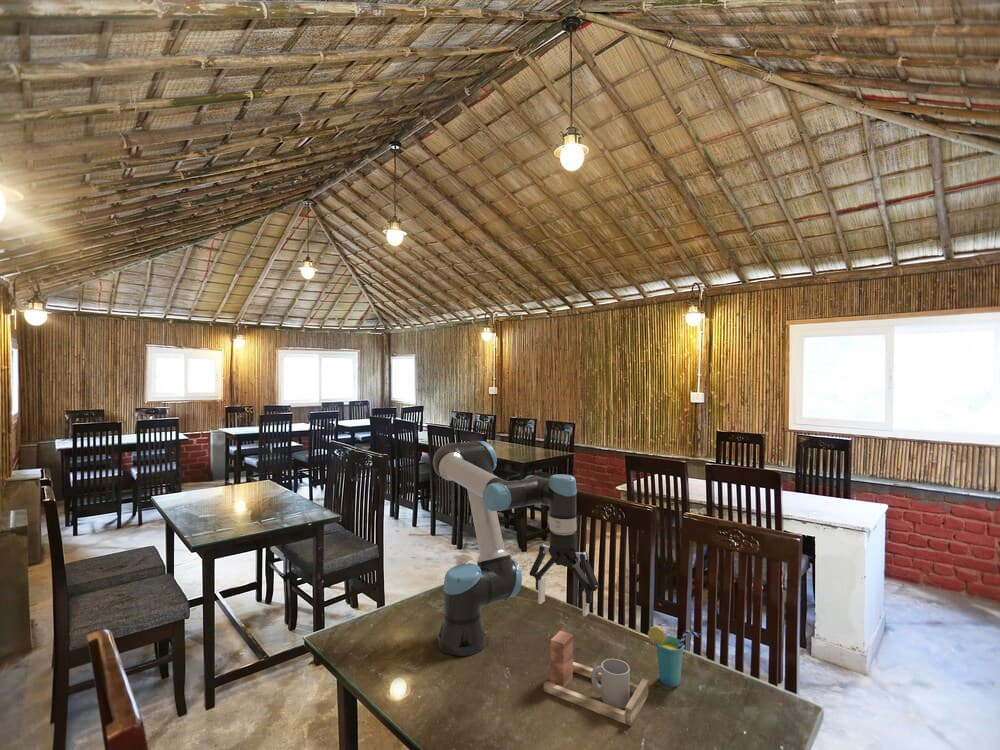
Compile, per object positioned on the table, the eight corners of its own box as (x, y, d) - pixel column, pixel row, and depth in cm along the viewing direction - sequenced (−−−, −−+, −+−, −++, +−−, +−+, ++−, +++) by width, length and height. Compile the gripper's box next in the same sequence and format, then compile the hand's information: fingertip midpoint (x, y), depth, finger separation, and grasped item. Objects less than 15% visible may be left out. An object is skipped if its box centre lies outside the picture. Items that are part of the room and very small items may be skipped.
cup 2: (699, 679, 137) (699, 625, 137) (701, 695, 130) (701, 639, 130) (647, 668, 142) (648, 617, 142) (646, 684, 135) (646, 629, 135)
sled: (543, 691, 131) (543, 646, 131) (566, 666, 143) (566, 624, 143) (631, 726, 118) (631, 676, 118) (648, 695, 130) (648, 649, 130)
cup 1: (626, 713, 123) (626, 677, 123) (587, 701, 127) (587, 667, 127) (632, 696, 129) (632, 663, 129) (595, 686, 134) (595, 653, 134)
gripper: (517, 527, 140) (517, 602, 140) (600, 542, 126) (600, 625, 126) (530, 521, 146) (530, 592, 146) (610, 535, 133) (611, 614, 132)
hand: (563, 608), depth 136 cm, fingers open, 13 cm apart
